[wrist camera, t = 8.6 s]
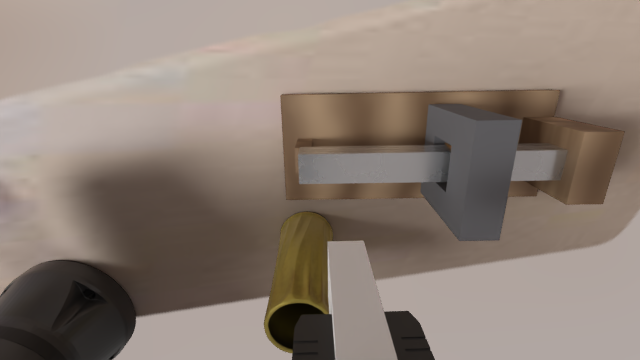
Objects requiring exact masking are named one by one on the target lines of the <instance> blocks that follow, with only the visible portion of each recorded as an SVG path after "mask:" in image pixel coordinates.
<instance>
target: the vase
mask: <svg viewBox="0 0 640 360" xmlns="http://www.w3.org/2000/svg"><path fill="white" fill-rule="evenodd" d="M332 240H333V233H332V228H331V226H330V225H329V223H328V222H327V221H326V219H325V218H323V217H322V216H320V215H318V214H316V213H312V212H300V213H297V214H295V215H293V216H291V217H290V218H288V219H287V220H286V221H285V223H284V224H283V226H282V228H281V232H280V243H279V250H278V256H277V261H276V267H275V272H274V277H273V283H272V288H271V293H270V297H269V302H268V307H267V311H266V316H265V320H264V328H265V333H266V335H267V337H268V339H269V340H270V341H271V342H272V343H273V344H274V345H275V346H276V347H277V348H279V349H280V350H283V351H285V352H288V353H293V340H294V328H295V325H296V324H297V322H298V320H299V319H300V317H301V315H312V314H329V302H328V241H332Z"/></svg>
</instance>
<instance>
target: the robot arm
mask: <svg viewBox="0 0 640 360" xmlns="http://www.w3.org/2000/svg"><path fill="white" fill-rule="evenodd" d="M328 302H329V314H312V315H301V317H300V319H299V320H298V322H297V324H296V325H295V328H294V340H293V356H292V360H435V359H434V356H433V354H432V352H431V351H430V347H429V344H428V342H427V340H426V339H425V335H424V332H423V330H422V327H421V325H420V323H419V322H418V321H417V320H416V318H415V317H413V315H412V314H411V313H409V311H397V312H396V311H395V312H394V311H392V312H384V310H383V307H382V303H381V300H380V296H379V293H378V289H377V286H376V282H375V279H374V275H373V272H372V268H371V265H370V261H369V258H368V254H367V251H366V247H365V244H364V241H328ZM135 324H136V317H135V311H134V307H133V305H132V302H131V300H130V299H129V297H128V295H127V294H126V293H125V291H124V290H123V289H122V288H121V287H120V286H119V285H118V284H117V283H116V282H115V281H114V280H113V279H111V278H110V277H109V276H107V275H106V274H104V273H102V272H101V271H99V270H97V269H95V268H92V267H90V266H87V265H84V264H81V263H77V262H71V261H50V262H45V263H41V264H38V265H36V266H34V267H32V268H30V269H29V270H27V271H26V272H25V273H23V274H22V275H20V276H19V277H17V278H16V279H15V280H13V281H12V282H11V283H10V284H9V285H8V286H7V287H6V288H5V290H4V291H3V293H2V294H1V296H0V360H112V359H114V358H115V357H116V356H117V355H118V354H119V353H120V351H121V350H122V349H123V348H124V346H125V345H126V343H127V342H128V341H129V339H130V338H131V336H132V334H133V332H134V329H135Z"/></svg>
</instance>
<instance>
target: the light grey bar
mask: <svg viewBox="0 0 640 360" xmlns="http://www.w3.org/2000/svg"><path fill="white" fill-rule="evenodd" d="M567 153H568V150H566V149H563V148H560V147H557V146H554V145H551V144H548V143H518V145H517V150H516V155H515V161H514V166H513V171H512V176H511V181H543V180H561V177H562V173H563V169H564V165H565V161H566V157H567ZM450 155H451V145H450V144H448V143H445V145H392V146H330V147H300V149H299V153H298V166H299V184H343V183H410V182H447V179H448V171H449V163H450Z"/></svg>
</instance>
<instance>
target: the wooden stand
mask: <svg viewBox="0 0 640 360" xmlns="http://www.w3.org/2000/svg"><path fill="white" fill-rule="evenodd" d="M559 93H560V90H506V91H450V92H394V93H338V94H282V95H280V97H281V114H282V132H283V149H284V167H285V185H286V200H308V199H377V198H425V197H424V196H423V195H422V193H421V192H420V190H421V182H410V183H343V184H299V166H298V153H299V149H300V147H330V146H392V145H425V137H426V126H427V115H428V105H429V104H463V105H467V106H471V107H474V108H478V109H482V110H486V111H490V112H494V113H497V114H501V115H505V116H509V117H513V118H517V119H521V120H522V124H521V129H520V135H519V140H518V143H548V144H551V145H554V146H557V147H560V148H563V149H566V150H568V153H567V157H566V161H565V165H564V169H563V173H562V177H561V180H543V181H511V182H510V187H509V192H508V197H514V196H537V191H538V189H539V190H541V191H543V192H545V193H546V194H548V195H550V196H552V197H554V198H555V199H557V200H559V201H561V202H563V203H564V204H566V205H570V204H603V202H604V199H605V196H606V192H607V189H608V186H609V182H610V179H611V176H612V172H613V169H614V166H615V162H616V159H617V156H618V152H619V149H620V146H621V142H622V139H623V136H624V133H625V131H620V130H615V129H610V128H606V127H601V126H596V125H591V124H587V123H582V122H577V121H572V120H568V119H563V118H558V117H554V115H555V111H556V106H557V102H558V97H559Z"/></svg>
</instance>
